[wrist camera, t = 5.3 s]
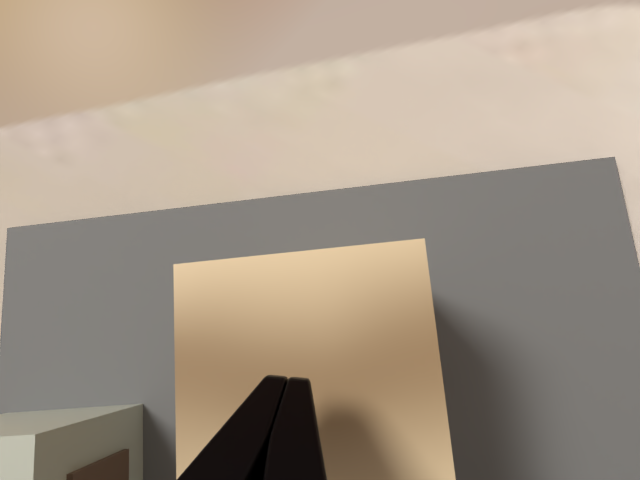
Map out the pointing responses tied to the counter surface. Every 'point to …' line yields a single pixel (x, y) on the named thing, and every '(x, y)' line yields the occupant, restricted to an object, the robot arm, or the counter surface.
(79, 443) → the brown paneled pale cube
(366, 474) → the plain maple block
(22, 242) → the slate rubber mat
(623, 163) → the counter surface
